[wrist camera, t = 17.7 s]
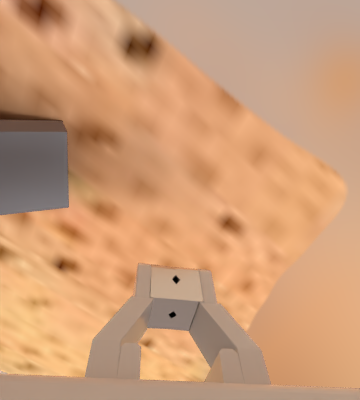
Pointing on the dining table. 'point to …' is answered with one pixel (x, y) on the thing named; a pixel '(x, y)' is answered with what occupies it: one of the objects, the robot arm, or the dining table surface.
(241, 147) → the dining table surface
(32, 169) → the domino
